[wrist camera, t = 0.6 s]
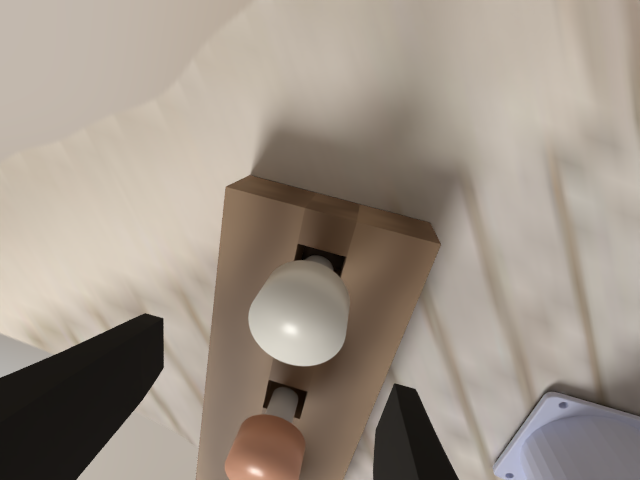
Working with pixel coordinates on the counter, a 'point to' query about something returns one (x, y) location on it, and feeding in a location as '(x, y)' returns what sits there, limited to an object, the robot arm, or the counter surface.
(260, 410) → the rack
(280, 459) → the knob middle
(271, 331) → the knob
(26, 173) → the counter surface
